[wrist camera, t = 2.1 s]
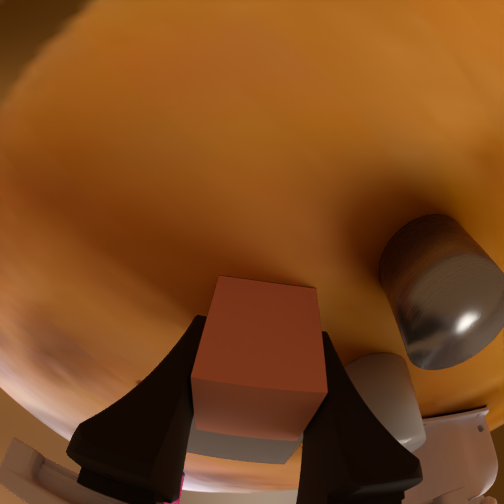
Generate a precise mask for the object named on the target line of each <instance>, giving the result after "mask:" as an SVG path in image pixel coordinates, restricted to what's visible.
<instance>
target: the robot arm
mask: <svg viewBox="0 0 504 504" xmlns="http://www.w3.org/2000/svg"><path fill="white" fill-rule="evenodd" d="M206 319H207V317H206V316H200V315H197V316H195V318H194V319H193V321H192V323H191V324H190V326H189V327H188V329H187V330H186V332H185V333H184V335H183V336H182V337H181V339H180V340H179V341H178V342H177V344H176V345H175V346H174V348H173V349H172V350H171V351H170V352H169V354H168V355H167V356H166V357H165V358H164V359H163V360H162V362H161V363H160V364H159V365H158V366H157V367H156V368H155V369H154V370H153V371H152V372H151V373H150V374H149V375H148V376H147V377H146V378H145V379H144V380H143V381H142V382H141V383H139V384H138V385H137V386H136V387H135V388H133V389H132V390H131V391H130V392H129V393H127V394H126V395H125V396H124V397H122V398H121V399H119V400H118V401H117V402H115V403H114V404H112V405H111V406H109V407H108V408H106V409H105V410H103V411H102V412H100V413H98V414H96V415H95V416H93V417H91V418H89V419H87V420H86V421H84V422H82V423H80V424H79V426H78V427H77V429H76V430H75V432H74V434H73V436H72V438H71V440H70V443H69V445H68V448H67V450H66V453H67V455H68V456H69V457H70V458H71V459H72V460H74V461H75V462H76V463H77V464H79V465H80V466H81V467H82V468H81V470H80V473H79V474H77V473H75V472H73V471H71V470H69V469H67V468H64V467H63V466H61V465H59V464H56V463H55V462H53V461H51V460H49V459H47V458H45V457H44V456H43V455H42V454H41V453H40V452H38V451H37V450H35V449H34V448H32V447H30V446H29V445H27V444H25V443H24V442H22V441H20V440H19V439H17V438H16V437H13V438H12V440H11V443H10V445H9V447H8V449H7V452H6V454H5V456H4V459H3V461H2V463H1V466H0V484H1V485H2V486H4V487H5V488H7V489H8V490H9V491H11V492H12V493H13V494H15V495H16V496H18V497H19V498H20V499H22V500H23V501H25V502H26V503H28V504H164V502H166V503H170V504H171V503H172V502H174V501H176V500H178V499H179V496H180V489H181V482H182V475H183V469H184V462H185V456H186V451H187V445H188V440H189V434H190V429H191V424H192V420H193V416H194V406H193V396H192V385H191V374H192V370H193V367H194V363H195V359H196V355H197V352H198V348H199V345H200V341H201V337H202V334H203V330H204V327H205V323H206ZM322 340H323V349H324V358H325V368H326V378H327V389H328V393H327V395H326V396H325V398H324V400H323V401H322V403H321V405H320V406H319V408H318V410H317V411H316V413H315V414H314V416H313V417H312V419H311V421H310V422H309V424H308V425H307V427H306V428H305V430H304V431H303V447H302V461H301V472H300V481H299V489H298V496H297V502H296V504H497V501H496V499H495V498H491V497H490V496H488V497H486V498H484V496H480V495H482V494H483V493H485V492H486V491H487V490H488V489H489V488H490V487H491V486H492V484H493V483H494V481H495V479H496V475H497V470H498V461H497V456H496V452H495V449H494V445H493V442H492V438H491V435H490V432H489V428H488V425H487V422H486V419H485V416H484V415H486V414H487V413H488V412H489V408H488V407H486V408H482V409H478V410H473V411H468V412H463V413H458V414H452V415H447V416H441V417H434V418H427V419H422V421H423V425H424V430H425V434H426V441H425V442H424V444H423V445H422V446H420V447H419V448H418V449H416V450H415V451H413V452H410V451H409V450H407V449H406V448H405V447H404V446H403V445H401V444H400V443H399V442H398V441H397V440H396V439H395V438H394V437H393V436H392V435H391V434H390V432H389V431H388V430H387V429H386V428H385V427H384V426H383V425H382V424H381V422H380V421H379V420H378V419H377V418H376V416H375V415H374V414H373V413H372V411H371V410H370V409H369V407H368V406H367V404H366V403H365V402H364V400H363V399H362V397H361V396H360V394H359V393H358V391H357V389H356V388H355V386H354V384H353V383H352V381H351V379H350V378H349V376H348V374H347V372H346V370H345V368H344V367H343V365H342V363H341V361H340V359H339V357H338V355H337V353H336V351H335V348H334V346H333V344H332V342H331V340H330V337H329V335H328V333H327V332H324V331H322ZM478 496H480V497H478ZM476 497H477V498H476ZM474 498H475V499H474ZM471 499H473V500H471ZM469 500H471V501H469Z"/></svg>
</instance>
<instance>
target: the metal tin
mask: <svg viewBox="0 0 504 504" xmlns="http://www.w3.org/2000/svg"><path fill="white" fill-rule="evenodd" d="M379 277H380V281H381V284H382V286H383V289H384V291H385V294H386V296H387V299H388V301H389V304H390V307H391V309H392V312H393V314H394V317H395V320H396V322H397V325H398V328H399V331H400V334H401V336H402V339H403V342H404V345H405V348H406V351H407V354H408V357H409V359H410V360H411V362H412V363H413V364H414V365H415V366H417V367H419V368H422V369H427V370H438V369H444V368H448V367H452V366H455V365H457V364H460V363H462V362H464V361H466V360H468V359H469V358H471V357H473V356H474V355H476V354H477V353H479V352H480V351H481V350H483V349H484V348H485V347H486V346H487V345H488V344H489V343H490V342H491V341H492V340H493V339H494V338H495V337H496V336H497V335H498V334H499V332H500V331H501V330H502V328H503V327H504V273H503V272H502V271H501V269H500V268H499V267H498V266H497V265H496V263H495V262H494V261H493V260H492V259H491V258H490V257H489V255H488V254H487V253H486V252H485V251H484V250H483V249H482V248H481V246H480V245H479V244H478V243H477V242H476V241H475V240H474V239H473V238H472V237H471V236H470V235H469V234H468V233H467V232H466V231H465V229H464V228H463V227H462V226H461V225H460V224H459V223H458V222H456V221H455V220H454V219H452V218H450V217H448V216H445V215H440V214H432V215H426V216H422V217H419V218H417V219H414V220H413V221H411V222H409V223H408V224H406V225H405V226H403V227H402V228H401V229H400V230H399V231H398V232H397V233H396V234H395V235H394V236H393V237H392V238H391V240H390V241H389V242H388V244H387V246H386V247H385V249H384V252H383V254H382V257H381V260H380V265H379Z"/></svg>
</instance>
